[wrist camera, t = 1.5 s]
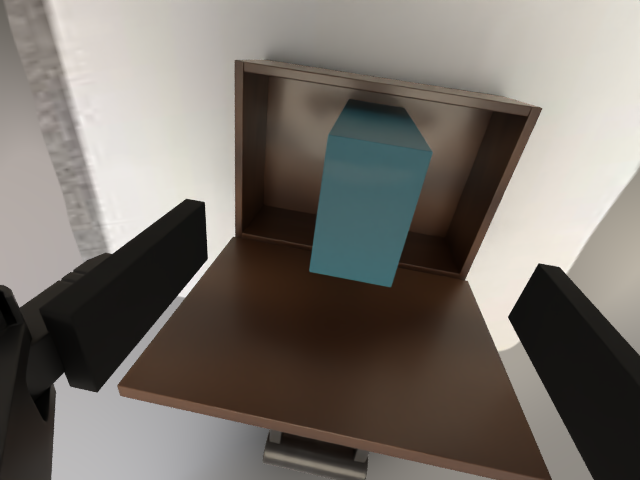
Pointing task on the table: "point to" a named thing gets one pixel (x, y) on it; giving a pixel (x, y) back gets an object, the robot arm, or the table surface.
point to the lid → (340, 368)
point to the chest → (310, 147)
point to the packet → (368, 192)
